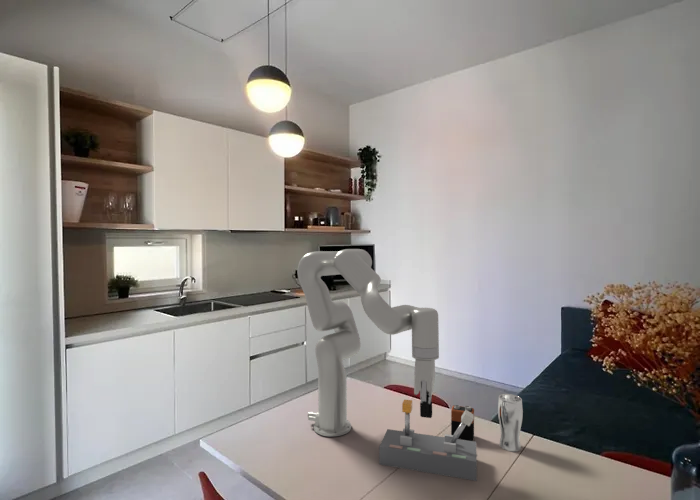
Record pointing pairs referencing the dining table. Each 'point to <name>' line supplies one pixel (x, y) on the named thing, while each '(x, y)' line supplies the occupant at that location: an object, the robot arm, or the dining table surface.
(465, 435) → the battery
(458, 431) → the on lever
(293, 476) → the dining table surface
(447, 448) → the switch box
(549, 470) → the dining table surface
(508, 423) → the beer glass
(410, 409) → the orange lever
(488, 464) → the dining table surface
